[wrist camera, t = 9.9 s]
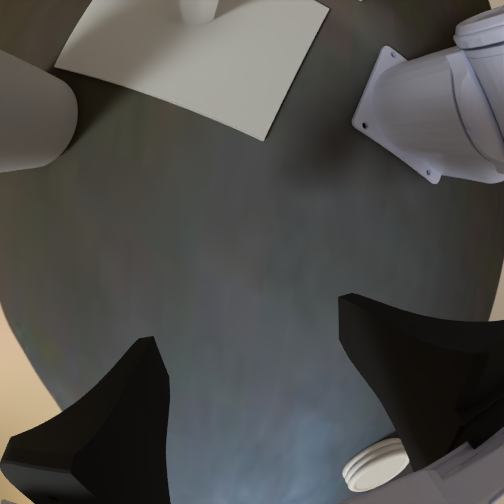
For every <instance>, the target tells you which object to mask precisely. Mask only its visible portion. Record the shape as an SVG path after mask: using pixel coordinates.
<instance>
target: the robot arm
mask: <svg viewBox="0 0 504 504" xmlns="http://www.w3.org/2000/svg"><path fill="white" fill-rule="evenodd" d="M455 33H456V34H455V35H454V36H453V39H454V41H455V43H456V44H457V46H455V47H451V48H448V49H444V50H441V51H438V52H435V53H431V54H428V55H425V56H422V57H419V58H416V59H413V60H410V61H407V60H406V59H405V58H404V57H402V56H401V55H400V54H399V53H397V52H396V51H395V50H393V49H392V48H391V47H389V46H384V47H382V49H381V51H380V53H379V56H378V58H377V61H376V63H375V66H374V68H373V71H372V73H371V76H370V78H369V80H368V83H367V85H366V88H365V90H364V92H363V95H362V97H361V99H360V102H359V104H358V106H357V109H356V111H355V113H354V116H353V118H352V125H353V127H355V128H356V129H357V130H359V131H360V132H362V133H364V134H365V135H367V136H368V137H370V138H371V139H373V140H374V141H376V142H377V143H378V144H380V145H381V146H383V147H384V148H386V149H387V150H389V151H390V152H391V153H393V154H394V155H396V156H397V157H398V158H400V159H401V160H402V161H404V162H405V163H406V164H408V165H409V166H410V167H412V168H413V169H414V170H416V171H417V172H418V173H419V174H421V175H422V176H423V177H425V178H426V179H427V180H428V181H430V182H431V183H433V184H437V183H438V182H439V180H440V177H441V175H445V176H451V177H457V178H463V179H469V180H474V181H479V182H484V183H498V182H501V181H503V180H504V6H501V7H497V8H495V9H491V10H488V11H486V12H483V13H480V14H478V15H475V16H473V17H471V18H469V19H466V20H464V21H463V22H461V23H459V24H458V25H457V26H456V31H455ZM391 54H393V56H394V58H393V57H392V56H391ZM363 123H365V125H366V128H365V129H364V128H363V126H362V124H363ZM427 170H428V174H427ZM338 307H339V340H340V342H341V344H342V346H343V348H344V350H345V352H346V354H347V355H348V357H349V359H350V360H351V362H352V363H353V364H354V366H355V367H356V368H357V370H358V371H359V372H360V374H361V375H362V376H363V378H364V379H365V380H366V382H367V383H368V384H369V386H370V387H371V389H372V390H373V391H374V393H375V394H376V395H377V397H378V398H379V400H380V401H381V403H382V405H383V407H384V408H385V410H386V412H387V414H388V416H389V418H390V419H391V421H392V423H393V425H394V427H395V429H396V431H397V433H398V435H399V437H400V440H401V442H402V444H403V446H404V449H405V451H406V453H407V456H408V458H409V461H410V463H411V466H412V469H413V471H414V473H411V474H409V475H406V476H404V477H401V478H399V479H397V480H395V481H393V482H391V483H389V484H386V485H384V486H382V487H380V488H377V489H375V490H373V491H370V492H368V493H366V494H363V495H361V496H358V497H355V498H353V499H350V500H347V501H345V502H342V503H339V504H494V503H495V502H496V501H497V500H499V499H500V498H501V497H502V496H503V495H504V320H500V321H489V322H466V321H454V320H445V319H438V318H433V317H428V316H423V315H419V314H415V313H411V312H408V311H404V310H401V309H398V308H395V307H392V306H389V305H386V304H384V303H381V302H378V301H375V300H372V299H370V298H367V297H364V296H361V295H358V294H354V293H350V294H347V295H343V296H339V297H338ZM169 404H170V384H169V375H168V373H167V370H166V368H165V365H164V363H163V360H162V358H161V355H160V352H159V350H158V347H157V344H156V342H155V339H154V336H151V337H144V338H139V339H138V340H137V341H136V342H135V343H134V344H133V345H132V346H131V347H130V348H129V349H128V351H127V352H126V353H125V354H124V355H123V356H122V358H121V359H120V360H119V361H118V362H117V363H116V364H115V366H114V367H113V368H112V369H111V370H110V371H109V372H108V373H107V374H106V375H105V376H104V377H103V378H102V379H101V380H100V381H99V383H98V384H97V385H95V386H94V387H93V388H92V389H91V390H90V391H89V392H88V393H87V394H85V395H84V396H83V397H82V398H81V399H79V400H78V401H77V402H76V403H74V404H73V405H71V406H70V407H68V408H67V409H66V410H64V411H63V412H61V413H60V414H58V415H57V416H55V417H53V418H52V419H50V420H48V421H46V422H44V423H42V424H41V425H39V426H37V427H34V428H32V429H30V430H28V431H25V432H23V433H20V434H18V435H15V436H12V437H11V438H10V440H9V442H8V444H7V447H6V449H5V452H4V454H3V456H2V459H1V462H0V468H1V471H2V473H3V474H4V476H5V477H6V478H7V479H8V480H9V482H11V484H13V485H14V486H15V487H16V488H17V489H18V490H19V491H20V492H22V493H23V494H24V495H25V496H26V497H27V498H29V499H30V500H31V501H32V502H33V503H35V504H171V503H170V496H169V488H168V479H167V466H166V437H167V426H168V415H169ZM1 504H16V503H13V502H10V501H7V500H2V502H1Z"/></svg>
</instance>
